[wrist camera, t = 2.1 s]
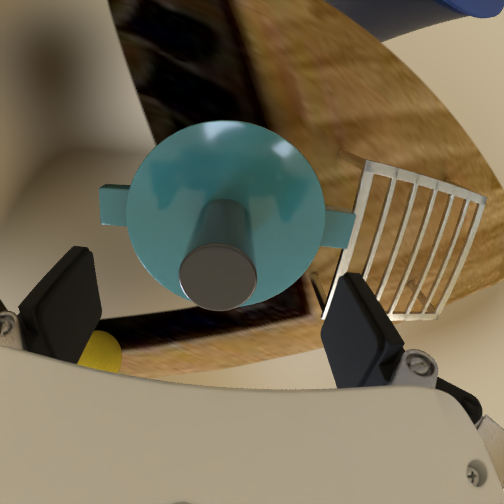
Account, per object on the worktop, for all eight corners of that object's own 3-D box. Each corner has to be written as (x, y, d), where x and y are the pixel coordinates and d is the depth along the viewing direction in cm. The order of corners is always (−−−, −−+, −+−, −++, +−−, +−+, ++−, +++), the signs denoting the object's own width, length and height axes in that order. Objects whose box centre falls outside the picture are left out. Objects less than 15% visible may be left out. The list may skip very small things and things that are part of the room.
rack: (337, 147, 23) (366, 159, 17) (449, 178, 24) (487, 197, 18) (307, 280, 28) (321, 319, 23) (412, 287, 30) (437, 319, 24)
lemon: (85, 312, 29) (58, 360, 22) (128, 323, 30) (107, 376, 23) (91, 344, 32) (69, 391, 25) (130, 354, 33) (113, 405, 26)
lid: (135, 114, 14) (73, 122, 8) (337, 136, 15) (395, 156, 9) (136, 287, 19) (104, 358, 13) (299, 303, 20) (319, 378, 14)
